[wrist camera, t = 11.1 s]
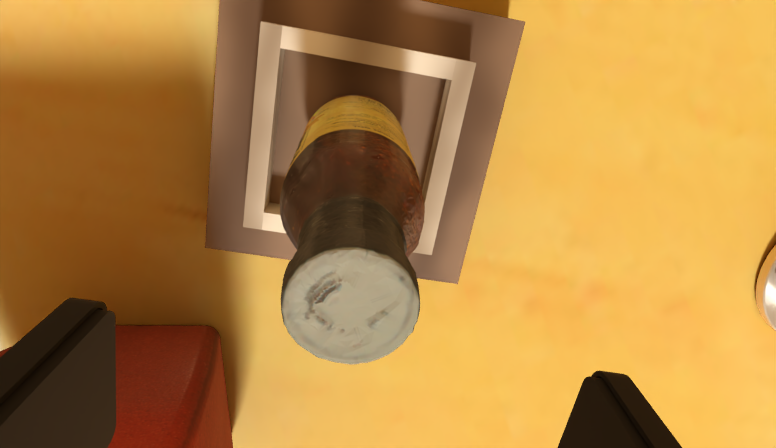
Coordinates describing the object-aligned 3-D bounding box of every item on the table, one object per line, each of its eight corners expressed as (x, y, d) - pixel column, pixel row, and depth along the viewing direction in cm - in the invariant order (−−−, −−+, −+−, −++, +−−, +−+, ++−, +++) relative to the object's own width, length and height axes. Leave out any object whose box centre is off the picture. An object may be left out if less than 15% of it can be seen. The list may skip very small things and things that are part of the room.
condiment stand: (507, 22, 34) (535, 21, 28) (448, 260, 40) (462, 297, 35) (238, -32, 32) (212, -46, 27) (220, 226, 38) (196, 259, 33)
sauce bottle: (293, 107, 31) (188, 222, 13) (388, 78, 31) (421, 155, 13) (326, 202, 34) (277, 413, 15) (415, 176, 33) (476, 362, 15)
